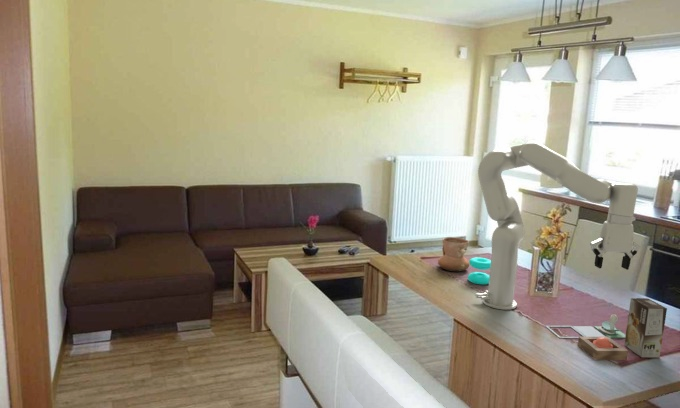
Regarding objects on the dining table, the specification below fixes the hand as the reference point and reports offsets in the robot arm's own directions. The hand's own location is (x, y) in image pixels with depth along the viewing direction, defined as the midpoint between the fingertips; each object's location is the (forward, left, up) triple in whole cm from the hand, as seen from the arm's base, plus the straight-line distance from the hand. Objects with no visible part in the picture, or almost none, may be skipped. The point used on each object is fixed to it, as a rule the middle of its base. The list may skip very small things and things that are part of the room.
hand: (611, 267), depth 178 cm
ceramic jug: (-33, +68, -22) cm, 78 cm away
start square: (-16, -4, -22) cm, 28 cm away
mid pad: (-8, -4, -22) cm, 23 cm away
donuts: (-27, +49, -22) cm, 60 cm away
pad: (0, -4, -22) cm, 22 cm away
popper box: (-13, -19, -22) cm, 32 cm away
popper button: (-13, -19, -21) cm, 32 cm away
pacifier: (-1, -4, -22) cm, 22 cm away
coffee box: (+1, -18, -22) cm, 29 cm away
